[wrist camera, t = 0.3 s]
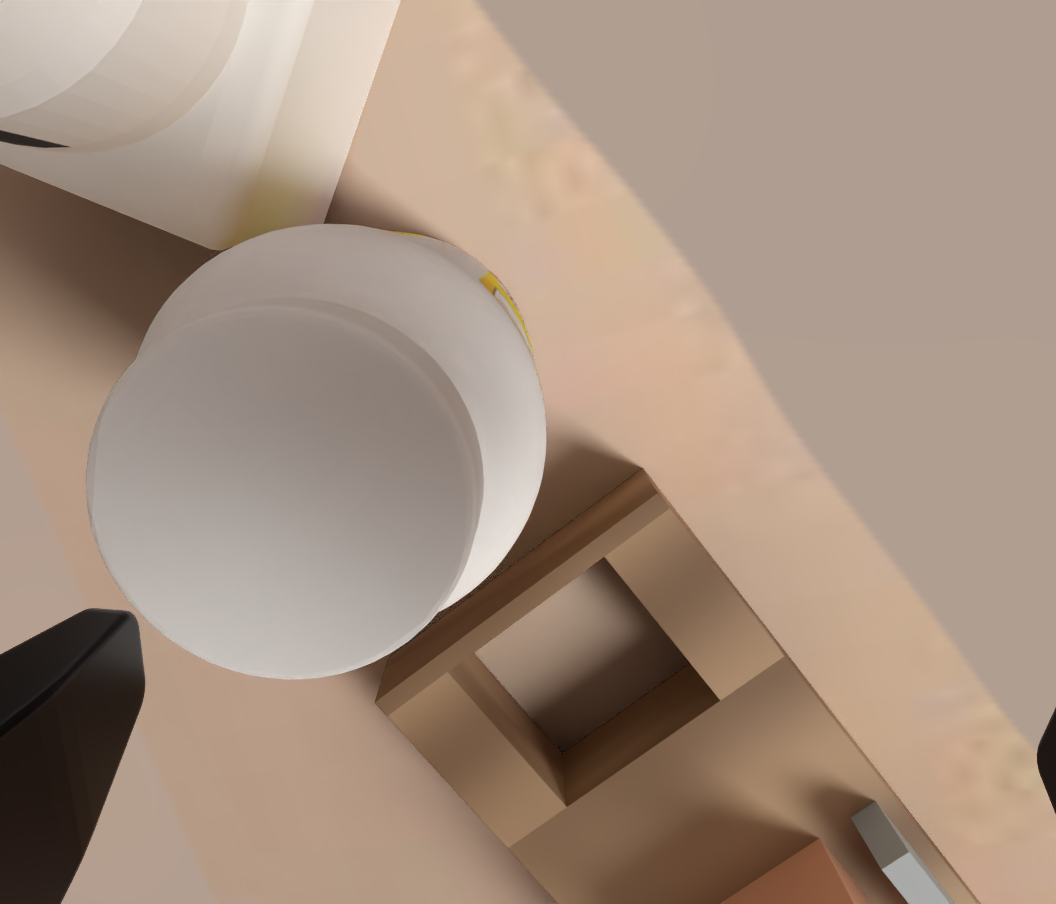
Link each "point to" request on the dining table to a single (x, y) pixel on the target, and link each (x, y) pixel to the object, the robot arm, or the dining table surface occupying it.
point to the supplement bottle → (318, 449)
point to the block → (803, 882)
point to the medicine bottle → (190, 105)
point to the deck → (649, 734)
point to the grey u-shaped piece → (898, 858)
